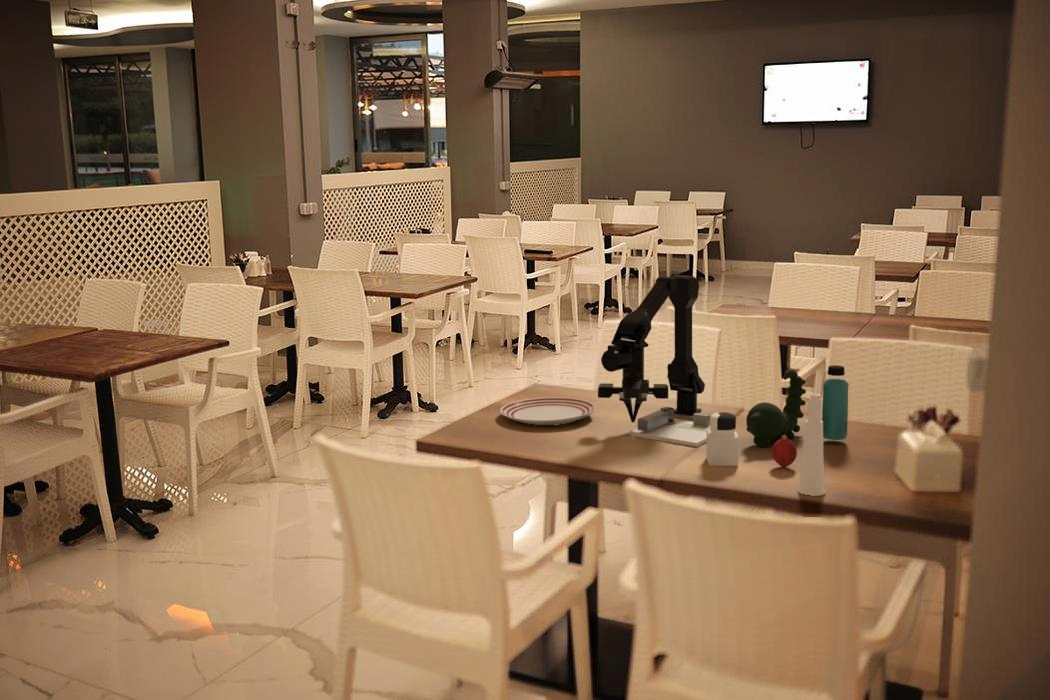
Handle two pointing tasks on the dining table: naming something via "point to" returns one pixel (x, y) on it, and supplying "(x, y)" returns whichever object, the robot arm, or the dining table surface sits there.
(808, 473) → the cosmetic bottle
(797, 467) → the dining table surface
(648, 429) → the bar
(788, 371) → the toy figurine
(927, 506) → the dining table surface
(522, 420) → the dinner plate
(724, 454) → the medicine bottle
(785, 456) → the onion
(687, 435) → the door board
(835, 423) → the beverage bottle
